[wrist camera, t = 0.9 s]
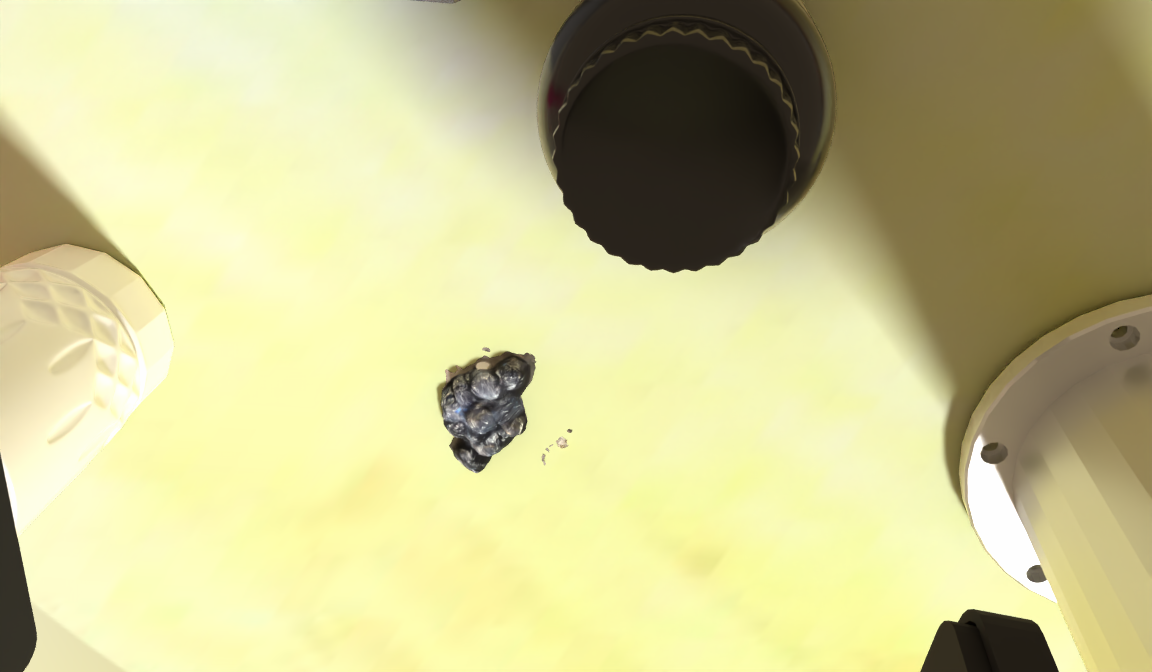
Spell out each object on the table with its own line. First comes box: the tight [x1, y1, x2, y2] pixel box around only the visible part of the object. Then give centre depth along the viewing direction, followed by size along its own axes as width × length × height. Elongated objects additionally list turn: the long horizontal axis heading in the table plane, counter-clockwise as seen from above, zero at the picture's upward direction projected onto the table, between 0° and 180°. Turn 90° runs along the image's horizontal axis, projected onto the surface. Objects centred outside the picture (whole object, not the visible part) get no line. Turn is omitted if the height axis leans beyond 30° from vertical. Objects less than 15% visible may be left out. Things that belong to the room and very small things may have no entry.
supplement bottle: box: [537, 0, 836, 273], centre depth 23 cm, size 7×7×12 cm
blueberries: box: [441, 348, 572, 473], centre depth 35 cm, size 7×8×2 cm
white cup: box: [0, 244, 174, 538], centre depth 32 cm, size 8×8×10 cm
